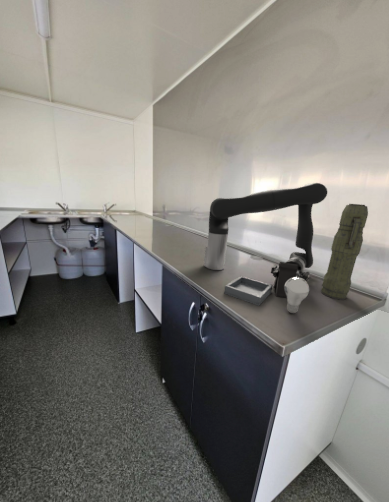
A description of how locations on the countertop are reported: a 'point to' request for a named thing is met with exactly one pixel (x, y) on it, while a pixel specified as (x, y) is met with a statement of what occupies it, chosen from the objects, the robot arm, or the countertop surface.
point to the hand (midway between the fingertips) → (284, 277)
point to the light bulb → (295, 293)
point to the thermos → (345, 251)
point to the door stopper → (284, 277)
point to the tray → (248, 290)
